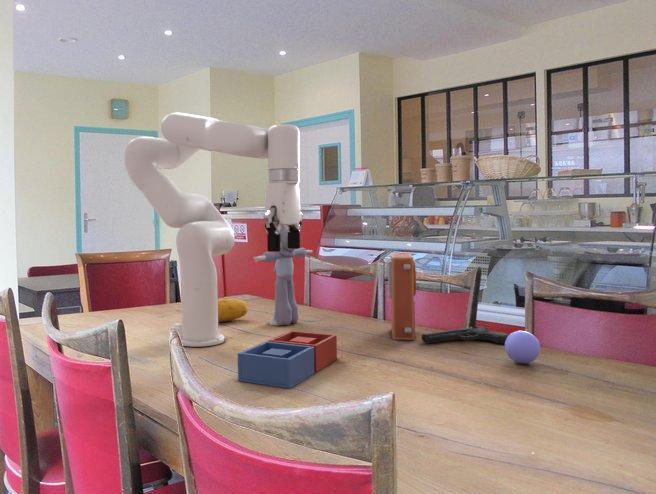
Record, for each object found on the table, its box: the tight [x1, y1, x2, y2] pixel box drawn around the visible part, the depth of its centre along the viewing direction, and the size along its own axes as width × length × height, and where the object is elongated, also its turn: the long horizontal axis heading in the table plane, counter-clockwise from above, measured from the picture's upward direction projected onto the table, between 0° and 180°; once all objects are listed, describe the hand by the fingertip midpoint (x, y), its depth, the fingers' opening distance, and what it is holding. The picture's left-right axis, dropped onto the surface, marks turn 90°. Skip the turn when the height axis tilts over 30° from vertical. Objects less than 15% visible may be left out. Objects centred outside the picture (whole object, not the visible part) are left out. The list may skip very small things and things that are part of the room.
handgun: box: [421, 325, 511, 345], centre depth 145 cm, size 3×20×12 cm
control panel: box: [387, 253, 417, 341], centre depth 155 cm, size 21×7×15 cm
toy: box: [253, 225, 314, 326], centre depth 174 cm, size 30×8×30 cm, turn 144°
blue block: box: [261, 348, 292, 358], centre depth 118 cm, size 5×5×5 cm
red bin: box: [267, 330, 338, 373], centre depth 129 cm, size 12×12×6 cm
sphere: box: [504, 330, 541, 365], centre depth 125 cm, size 7×7×7 cm
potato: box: [218, 298, 249, 323], centre depth 179 cm, size 8×14×7 cm, turn 108°
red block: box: [289, 337, 316, 345], centre depth 129 cm, size 5×5×5 cm
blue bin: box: [237, 341, 315, 389], centre depth 118 cm, size 12×12×6 cm
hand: (284, 249), depth 137 cm, fingers open, 9 cm apart
